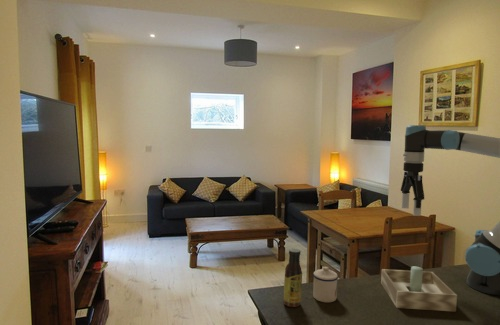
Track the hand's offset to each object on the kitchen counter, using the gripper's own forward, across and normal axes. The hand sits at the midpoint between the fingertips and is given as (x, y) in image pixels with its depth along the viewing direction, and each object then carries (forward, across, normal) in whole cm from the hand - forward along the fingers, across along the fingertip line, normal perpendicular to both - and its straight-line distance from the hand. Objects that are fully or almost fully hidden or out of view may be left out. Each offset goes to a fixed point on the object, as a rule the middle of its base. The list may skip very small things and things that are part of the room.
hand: (410, 211), depth 146 cm
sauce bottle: (+29, +30, -50) cm, 65 cm away
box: (+29, +18, -3) cm, 34 cm away
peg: (+29, +18, -3) cm, 34 cm away
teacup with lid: (+29, +22, -38) cm, 53 cm away
